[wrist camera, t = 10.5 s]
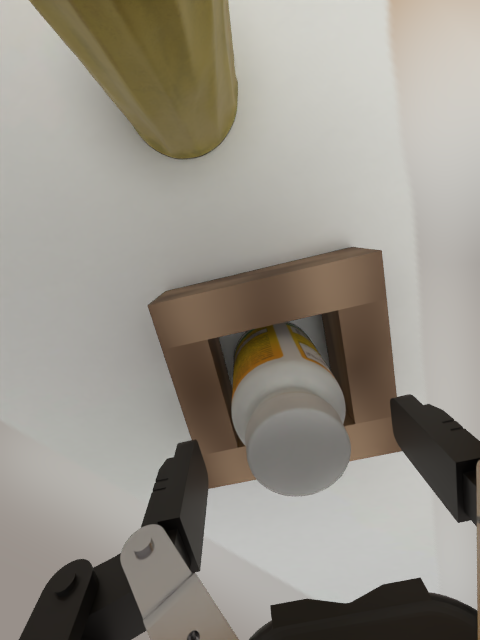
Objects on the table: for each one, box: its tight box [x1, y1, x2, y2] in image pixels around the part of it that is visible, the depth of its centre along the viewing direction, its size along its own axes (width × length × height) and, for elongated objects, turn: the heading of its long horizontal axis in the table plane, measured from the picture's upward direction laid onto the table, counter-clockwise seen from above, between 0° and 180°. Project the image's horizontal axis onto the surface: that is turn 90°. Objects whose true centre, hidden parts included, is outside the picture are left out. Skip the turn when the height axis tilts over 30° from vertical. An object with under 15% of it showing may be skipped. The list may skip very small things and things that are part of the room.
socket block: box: [148, 247, 402, 489], centre depth 19 cm, size 12×12×4 cm
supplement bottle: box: [231, 322, 351, 496], centre depth 16 cm, size 5×5×10 cm
